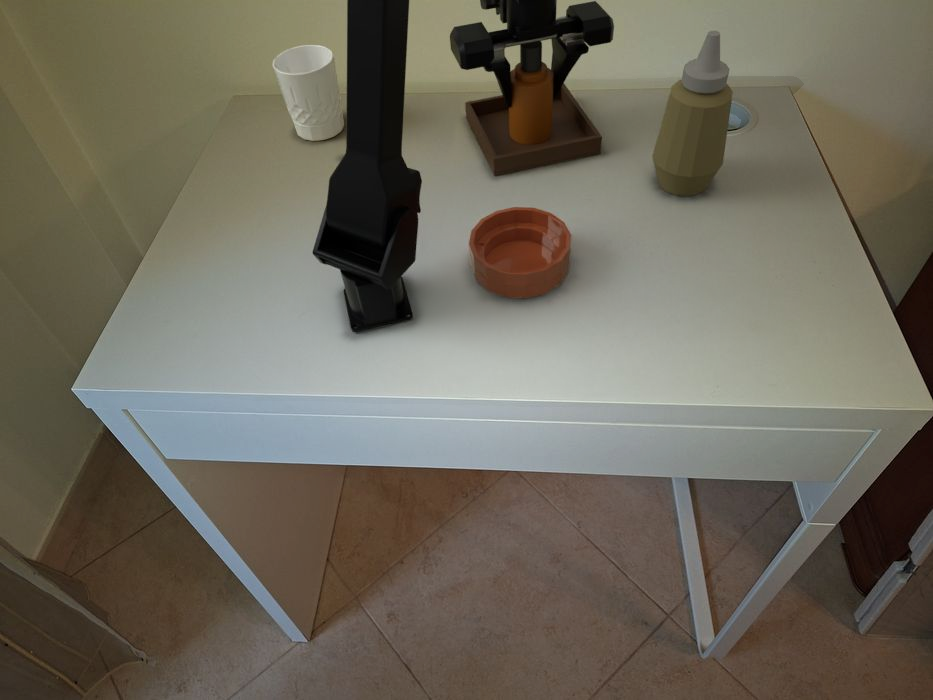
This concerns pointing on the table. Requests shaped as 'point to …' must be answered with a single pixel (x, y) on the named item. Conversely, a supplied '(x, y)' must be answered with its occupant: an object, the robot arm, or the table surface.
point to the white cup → (310, 90)
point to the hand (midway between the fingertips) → (530, 101)
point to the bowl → (520, 252)
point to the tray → (506, 155)
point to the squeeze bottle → (695, 124)
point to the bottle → (531, 97)
